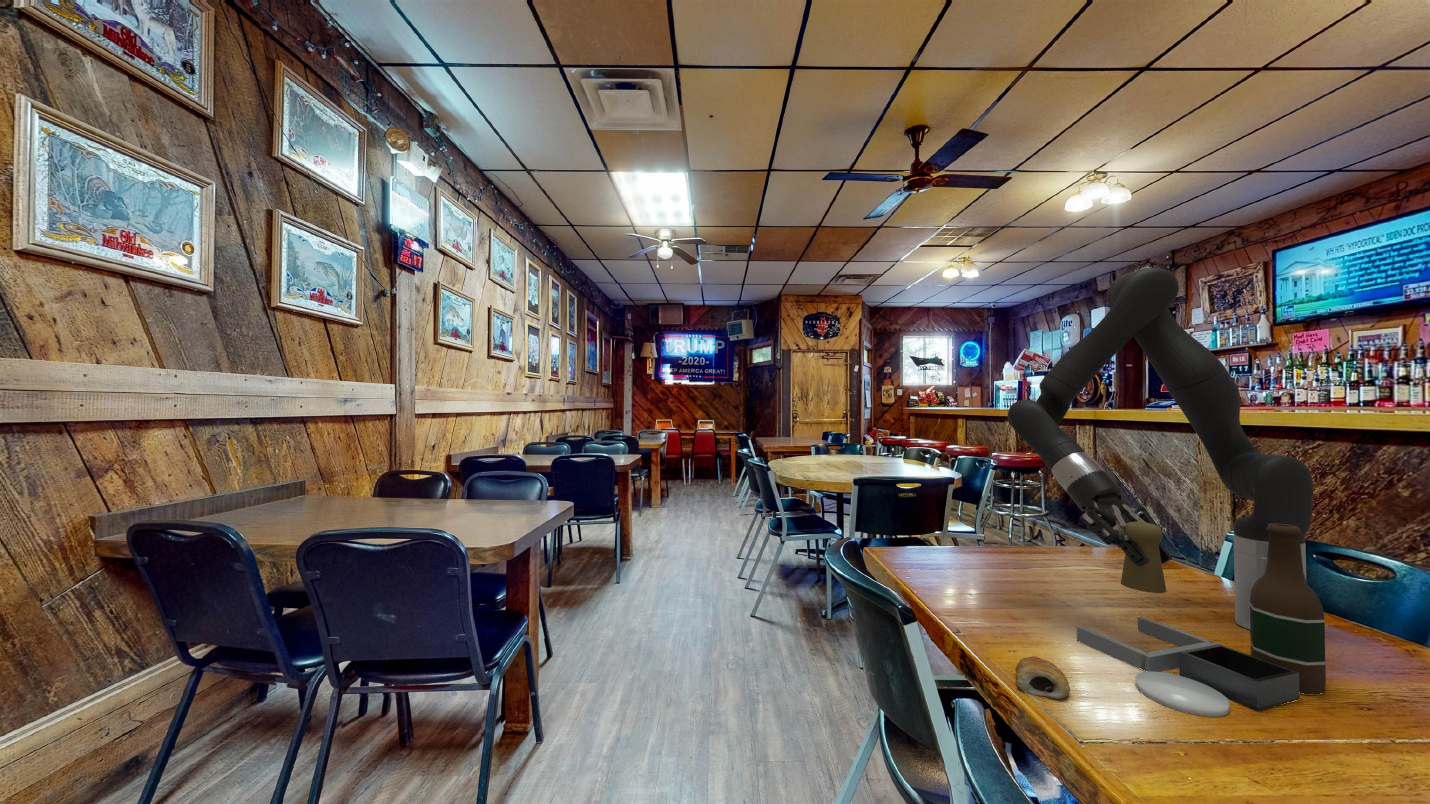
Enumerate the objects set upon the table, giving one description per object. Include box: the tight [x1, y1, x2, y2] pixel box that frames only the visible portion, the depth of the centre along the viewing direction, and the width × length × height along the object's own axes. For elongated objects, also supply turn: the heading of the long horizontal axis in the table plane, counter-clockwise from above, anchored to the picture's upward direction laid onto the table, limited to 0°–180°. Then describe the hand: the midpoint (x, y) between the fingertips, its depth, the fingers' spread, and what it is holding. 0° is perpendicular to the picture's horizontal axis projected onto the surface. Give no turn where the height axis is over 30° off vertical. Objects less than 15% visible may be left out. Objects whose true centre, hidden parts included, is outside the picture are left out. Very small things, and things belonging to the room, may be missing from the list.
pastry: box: [1015, 655, 1071, 700], centre depth 77 cm, size 9×7×4 cm
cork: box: [1120, 522, 1167, 594], centre depth 87 cm, size 6×6×11 cm
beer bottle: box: [1249, 523, 1327, 694], centre depth 77 cm, size 8×8×24 cm
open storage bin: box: [1178, 643, 1301, 712], centre depth 75 cm, size 9×9×4 cm
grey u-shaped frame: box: [1076, 616, 1219, 672], centre depth 87 cm, size 16×12×2 cm
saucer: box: [1135, 671, 1230, 718], centre depth 73 cm, size 10×10×1 cm
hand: (1155, 562), depth 85 cm, fingers closed on cork, 4 cm apart
